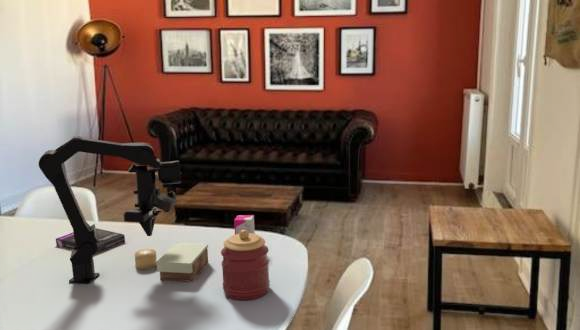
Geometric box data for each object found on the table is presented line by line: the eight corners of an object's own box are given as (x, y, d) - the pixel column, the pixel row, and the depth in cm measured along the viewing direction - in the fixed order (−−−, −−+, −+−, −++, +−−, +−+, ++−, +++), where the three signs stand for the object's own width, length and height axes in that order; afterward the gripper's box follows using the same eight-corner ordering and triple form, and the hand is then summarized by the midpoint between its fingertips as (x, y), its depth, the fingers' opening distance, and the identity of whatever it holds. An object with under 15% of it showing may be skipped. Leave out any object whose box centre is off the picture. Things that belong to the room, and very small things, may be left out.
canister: (245, 277, 161) (243, 219, 157) (279, 288, 153) (277, 228, 149) (213, 292, 151) (209, 231, 147) (247, 305, 143) (244, 241, 139)
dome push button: (159, 266, 170) (158, 254, 169) (138, 271, 167) (137, 258, 166) (153, 259, 176) (152, 247, 175) (133, 263, 173) (132, 251, 172)
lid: (191, 273, 157) (190, 263, 156) (157, 271, 159) (156, 261, 158) (208, 253, 172) (208, 244, 171) (177, 252, 173) (176, 243, 173)
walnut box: (193, 281, 159) (191, 265, 158) (160, 279, 160) (159, 263, 159) (208, 262, 172) (207, 247, 171) (178, 261, 174) (176, 246, 173)
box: (56, 247, 192) (93, 256, 182) (55, 238, 191) (92, 246, 181) (89, 235, 203) (126, 242, 193) (88, 226, 202) (124, 233, 192)
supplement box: (255, 247, 185) (254, 214, 182) (252, 253, 179) (251, 220, 176) (238, 246, 185) (237, 214, 183) (235, 253, 179) (233, 219, 177)
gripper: (157, 195, 152) (160, 248, 155) (184, 179, 170) (186, 227, 173) (120, 193, 154) (124, 245, 157) (150, 178, 172) (154, 225, 175)
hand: (149, 235), depth 166 cm, fingers closed
